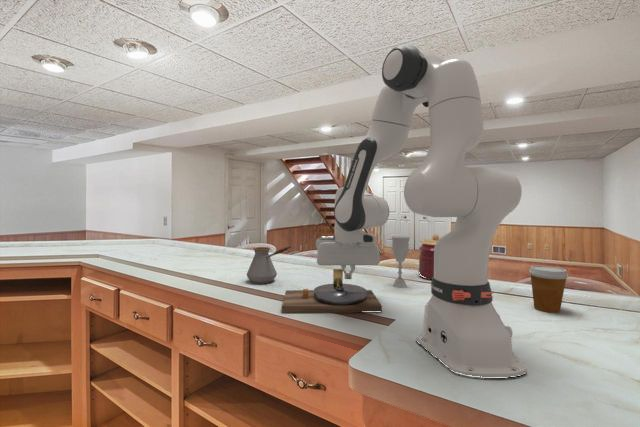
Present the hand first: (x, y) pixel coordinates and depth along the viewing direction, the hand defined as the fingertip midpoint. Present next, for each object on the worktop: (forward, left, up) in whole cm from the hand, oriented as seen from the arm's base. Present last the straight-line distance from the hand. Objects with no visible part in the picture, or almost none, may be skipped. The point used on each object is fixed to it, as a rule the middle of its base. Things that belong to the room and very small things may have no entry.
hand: (347, 278), depth 108 cm
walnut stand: (-6, +6, -6) cm, 11 cm away
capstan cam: (-6, +3, -4) cm, 8 cm away
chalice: (+15, -21, -6) cm, 26 cm away
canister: (+28, -39, -6) cm, 48 cm away
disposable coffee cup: (-12, -57, -6) cm, 59 cm away
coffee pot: (+19, +27, -6) cm, 33 cm away
